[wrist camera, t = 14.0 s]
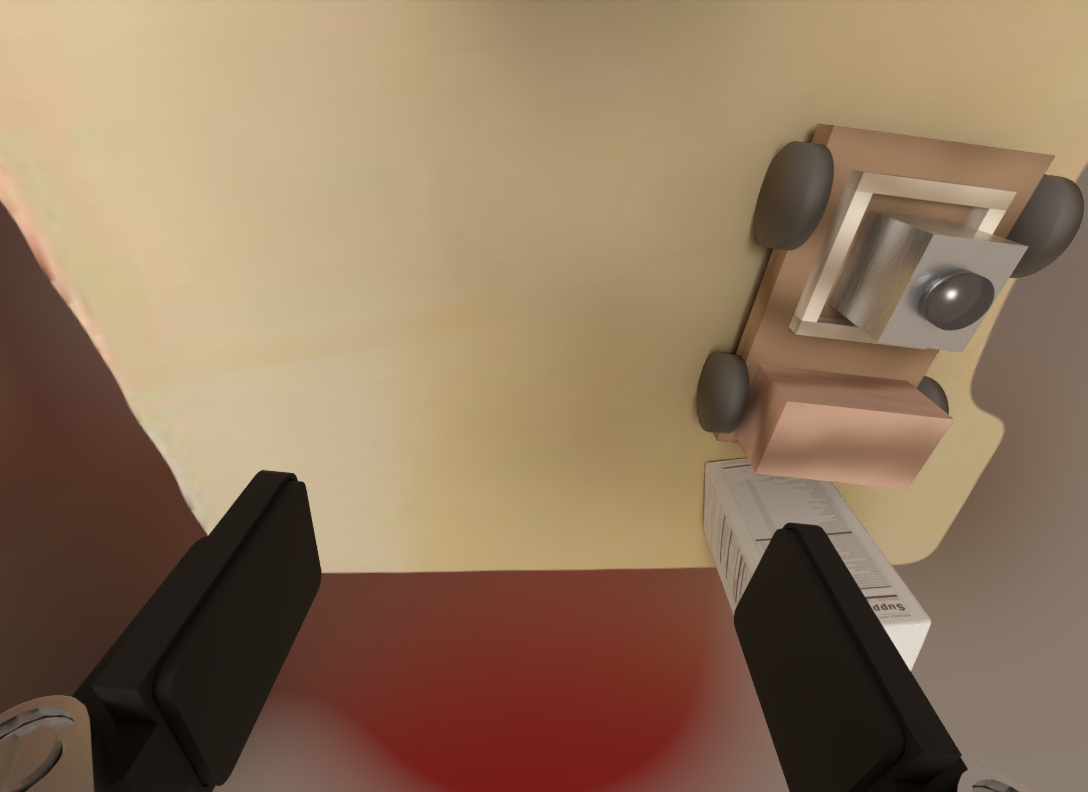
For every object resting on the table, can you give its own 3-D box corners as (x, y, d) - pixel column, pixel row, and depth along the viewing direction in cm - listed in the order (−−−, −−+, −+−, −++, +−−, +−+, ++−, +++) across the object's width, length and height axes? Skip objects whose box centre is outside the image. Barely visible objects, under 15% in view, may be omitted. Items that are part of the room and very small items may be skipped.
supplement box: (701, 532, 49) (760, 712, 35) (702, 460, 45) (772, 635, 30) (800, 523, 49) (903, 704, 34) (813, 449, 44) (939, 623, 29)
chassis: (783, 119, 31) (854, 128, 23) (1030, 152, 31) (1173, 171, 24) (688, 413, 42) (715, 480, 35) (869, 433, 43) (934, 503, 36)
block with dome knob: (869, 209, 30) (947, 239, 24) (948, 220, 30) (1045, 251, 24) (827, 303, 33) (887, 350, 27) (899, 312, 33) (974, 360, 27)
